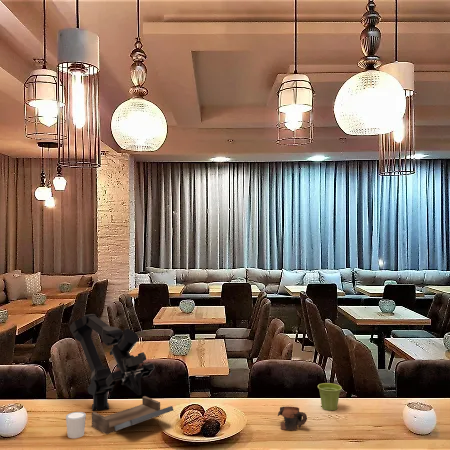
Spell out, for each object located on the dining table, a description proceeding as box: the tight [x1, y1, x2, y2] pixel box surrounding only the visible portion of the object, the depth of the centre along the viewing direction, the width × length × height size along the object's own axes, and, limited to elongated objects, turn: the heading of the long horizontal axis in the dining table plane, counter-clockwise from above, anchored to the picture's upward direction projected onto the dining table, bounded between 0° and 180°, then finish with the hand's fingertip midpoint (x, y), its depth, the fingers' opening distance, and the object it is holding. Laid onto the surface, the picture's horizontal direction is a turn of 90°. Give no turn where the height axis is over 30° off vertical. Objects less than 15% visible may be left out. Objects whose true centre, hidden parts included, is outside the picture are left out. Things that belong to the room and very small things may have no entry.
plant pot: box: [317, 382, 343, 411], centre depth 199 cm, size 9×9×9 cm
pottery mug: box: [277, 405, 308, 431], centre depth 182 cm, size 12×10×8 cm
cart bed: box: [91, 395, 161, 435], centre depth 187 cm, size 10×24×5 cm, turn 135°
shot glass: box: [65, 411, 87, 439], centre depth 175 cm, size 7×7×7 cm
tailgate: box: [114, 405, 174, 432], centre depth 179 cm, size 2×18×12 cm
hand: (140, 394), depth 181 cm, fingers closed
